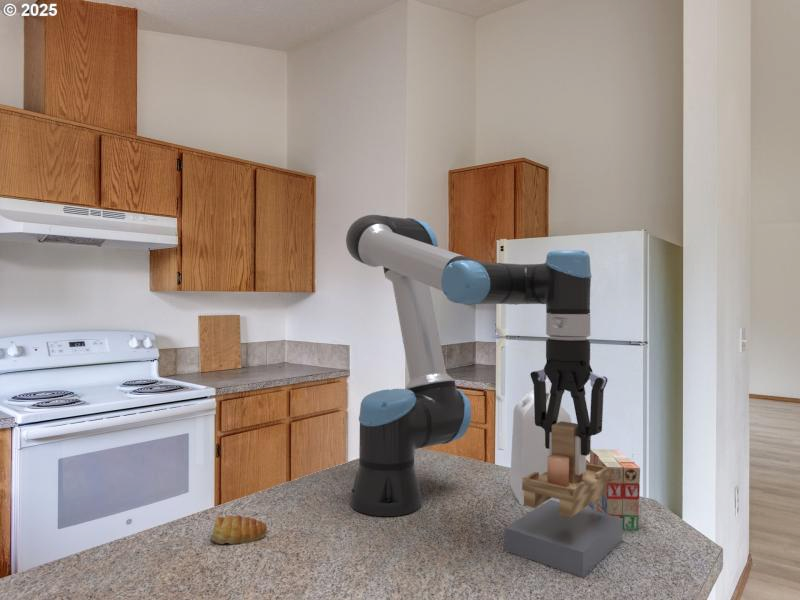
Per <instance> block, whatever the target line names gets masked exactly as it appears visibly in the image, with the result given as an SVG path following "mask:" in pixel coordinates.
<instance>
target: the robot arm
mask: <svg viewBox="0 0 800 600" xmlns="http://www.w3.org/2000/svg"><path fill="white" fill-rule="evenodd" d="M345 245H346V248H347V251H348V253H349V255H351V257H352V259H353V258H354V260H355V261H356V262H359V263H361V264H364V265H366V266H368V267H372V268H377V267H383V272H384V277H385V278H386V279H387V280H389V281H390V282H391V283H392V288H393V293H394V299H395V305H396V310H397V315H398V320H399V321H398V322H399V325H400V326H399V327H400V332H401V338H402V343H403V350H404V355H405V360H406V366H407V370H408V371H407V372H408V376H409V382H408V383H407V385H406V386H405V388H392V389H382V390H377V391H373V392H371V393H369V394H367V395H365V396H364V397H363V399H361V402H360V408H359V415H358V421H359V448H358V449H359V453H358V455H359V457H358V458H359V464H358V469H357V472H356V475H355V479H354V483H353V487H352V488H351V491H350V506H351V507H352V508H353V509H354V511H357V512H359V513H362V514H366V515H368V516H369V515H370V516H377V517H399V516H404V515H408V514H411V513H414V512H416V511H417V510H419V509H420V508H421V507H422V506H423V493H422V490H421V487H420V484H419V480H418V477H417V471H416V469H415V450H417V449H423V448H428V447H433V446H437V445H445V444H449V443H451V442H454V441H457V440H459V439H461V438H462V437H464V436H465V434H467V430H468V429H469V428H470V425H471V421H472V406H471V402H470V399H469V397H468V395H465V393H464V391H462V390H461V389H458V388H457V387H456V386H457V385H456V381H455V378H453V377H451V376H450V375H449V374H448V373H447V369H446V364H445V359H444V353H443V349H442V348H443V347H442V344H441V343H442V342H441V339H440V333H439V329H438V328H439V327H438V324H437V318H436V317H437V316H436V314H435V307H434V301H433V297H432V293H431V287H432V288H434V289H437V290H439V291H441V292H443V294H444V295H445V296H446V299H447V300H448V301H450V302H452V303H454V304H461V305H465V306H471V305H501V304H502V305H545V310H546V312H545V313H546V320H545V322H546V323H545V328H546V329H545V334H546V335H547V336H548V337H549V338H547V339H546V341H545V359H546V362H545V365H544V367H543V368H542V369H540V370H535V371H531V372H530V375H529V376H530V378H531V382H532V383H533V384H532V385H533V389H534V413H535V425H536V426H540V427H542V428H543V429H544V430H545V447H546V448H547V449H549V455H552V425H553V424H556V423H557V419H558V415H559V410H560V405H561V406H562V404H561V403H562V400H563V399H562V398H563V396H564V394H565V391H567V392H570V397H571V398H572V402H573V407H574V408H573V409H574V412H575V418H576V424H578V429H579V434H578V436H576V437H575V474H576V475H580V474H582V473H584V472H585V456H587V455H589V454H590V451H591V449H592V448H591V444H592V442H591V441H592V440H591V438H592V436H595V435H598V434H600V433H601V432H602V431H603V416H604V415H603V411H604V391H605V388H606V386H607V384H608V381H609V380H608V378H607V377H606V376H600V375H598V374H596V373H594V371H593V369H592V367H591V341H590V340H589V339H588V337H589V338H590V336H591V308H590V307H591V285H592V284H591V282H592V280H591V279H592V274H591V273H592V272H591V257H590V255H589V253H588V252H586V251H585V250H580V249H578V250H577V249H561V250H552V251H549V252H548V253H546V259H545V262H544V263H529V264H526V263H525V264H522V263H521V264H519V263H504V262H503V263H501V262H488V261H482V260H477V259H473V258H470V257H468V256H465V255H461V254H459V253H455V252H453V251H450V250H447V249H443V248H441V247H439V246H438V245H439V244H438V239H437V236H436V233H435V231H434V229H433V228H432V227H431V226H430V225H429V224H428V223H426V222H424V221H423V220H418V219H416V218H410V217H407V218H404V217H395V216H394V217H393V216H388V215H387V216H386V215H380V214H368V215H364V216H361V217H359V218H357V219H356V220H355V221H354V222H352V224H351V225H350V226H349V228H348V230H347V233H346V237H345ZM546 379H547V380H548V381H549V383H551V384H550V388H549V394H550V400H549V405H548V410H546V383H545V380H546ZM589 381H590V386H591V387H592V388H591V392H590V413H589V412H588V405H587V401H586V388H585V385H586V384H587V382H589ZM589 414H590V415H589Z"/></svg>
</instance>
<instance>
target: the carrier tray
mask: <svg viewBox="0 0 800 600" xmlns="http://www.w3.org/2000/svg"><path fill="white" fill-rule="evenodd" d="M578 434H579V429H578V423H577V422H576V423H575V422H572V423H569V422H563V421H561V422H558V423H556V424H553V425H552V455H563V456H567V457H568V458H569V486H568V487H563V486H559V485H555V484H550V483H547V472H545V473H543V474H541V475H539V472H534V473H532V474H530V475H528V476H526V477H524V478H522V490H524V504H523V506H526V507H530V508H532V509H533V508H534V509H536V508H538V507H540V506H541V505H540V504H542V503H543V502H545V501H547V500H548V499H550V498H552V497H553V498H557V499H559V514H560V515H563V516H567V517H572V516H574V515H575V514H577V513H578V512H579V511H581V510H582V509H586V507H589V504H591V503H592V502H594V501H595V500H596V499H598V498H599V497H601V496H602V495H604V494H605V493H606V492H607V480H608V479H609V468H608V467H603V466H598V465H593V464H588V463H586V476H583V473H582V474H580V475H576V474H575V437H576V436H578Z"/></svg>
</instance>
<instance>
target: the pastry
mask: <svg viewBox="0 0 800 600" xmlns="http://www.w3.org/2000/svg"><path fill="white" fill-rule="evenodd" d="M267 528H268V525H267V523H265V522H263V521H261V520H257V519H256V518H250V517H249V516H248V517H247V516H241V515H240V514H237V515H227V516H226V517H223V516H217V517H216V518H215V521H214V525H213V530H212V536H211V540H212V542H214V543H217V544H218V545H225V544H230V545H238V544H244V543H251V542H255V541H257V540H261V539H263V538H265V537H266V536H267Z"/></svg>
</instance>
